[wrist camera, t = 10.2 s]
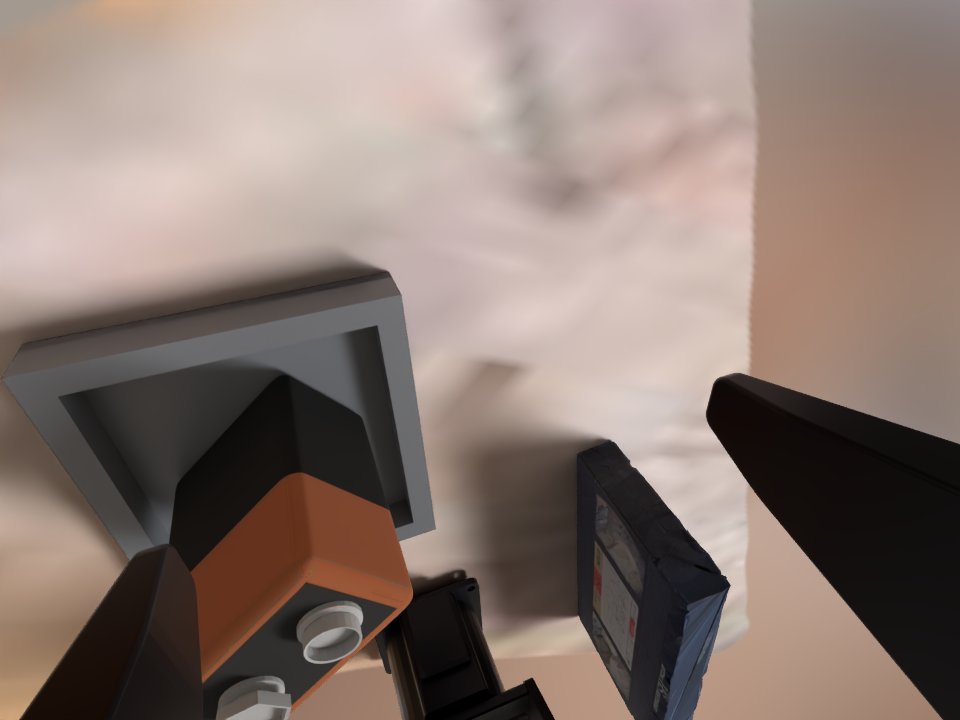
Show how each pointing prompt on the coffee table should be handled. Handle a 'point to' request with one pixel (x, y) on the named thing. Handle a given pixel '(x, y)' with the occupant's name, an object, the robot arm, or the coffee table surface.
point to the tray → (221, 395)
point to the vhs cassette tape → (643, 588)
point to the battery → (286, 552)
